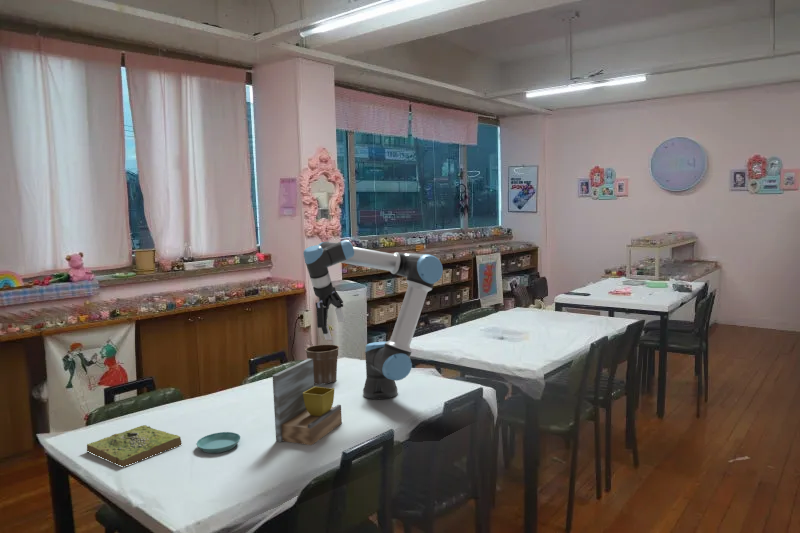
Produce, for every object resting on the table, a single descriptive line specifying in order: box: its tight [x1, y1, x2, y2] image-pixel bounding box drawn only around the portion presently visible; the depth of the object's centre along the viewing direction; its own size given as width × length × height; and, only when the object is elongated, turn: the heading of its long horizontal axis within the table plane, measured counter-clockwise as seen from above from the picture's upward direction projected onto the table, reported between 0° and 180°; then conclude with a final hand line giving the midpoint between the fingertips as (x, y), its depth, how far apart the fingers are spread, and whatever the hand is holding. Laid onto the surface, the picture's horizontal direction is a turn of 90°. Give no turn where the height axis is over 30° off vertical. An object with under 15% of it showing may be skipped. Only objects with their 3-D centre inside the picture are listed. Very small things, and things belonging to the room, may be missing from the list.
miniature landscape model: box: [86, 424, 183, 466], centre depth 204 cm, size 22×24×5 cm
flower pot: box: [303, 386, 335, 416], centre depth 215 cm, size 9×9×9 cm
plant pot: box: [304, 344, 340, 385], centre depth 278 cm, size 16×16×16 cm
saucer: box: [195, 431, 241, 454], centre depth 203 cm, size 15×15×3 cm
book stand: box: [271, 358, 343, 446], centre depth 214 cm, size 14×24×24 cm, turn 157°
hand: (335, 330), depth 236 cm, fingers open, 13 cm apart
